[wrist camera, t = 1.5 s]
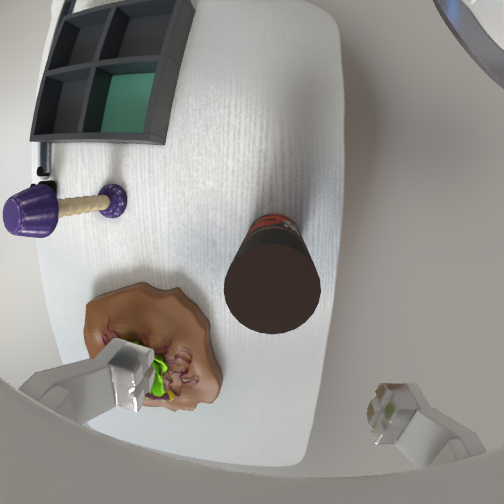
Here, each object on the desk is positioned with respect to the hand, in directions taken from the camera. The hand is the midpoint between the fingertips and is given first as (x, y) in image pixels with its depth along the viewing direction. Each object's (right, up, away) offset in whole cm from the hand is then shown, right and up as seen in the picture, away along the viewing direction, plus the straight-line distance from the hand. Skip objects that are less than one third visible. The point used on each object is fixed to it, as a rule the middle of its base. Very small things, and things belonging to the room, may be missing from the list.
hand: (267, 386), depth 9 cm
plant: (-15, -9, +28) cm, 33 cm away
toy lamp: (-17, +11, +23) cm, 31 cm away
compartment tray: (-18, +27, +19) cm, 38 cm away
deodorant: (+2, +6, +23) cm, 24 cm away
